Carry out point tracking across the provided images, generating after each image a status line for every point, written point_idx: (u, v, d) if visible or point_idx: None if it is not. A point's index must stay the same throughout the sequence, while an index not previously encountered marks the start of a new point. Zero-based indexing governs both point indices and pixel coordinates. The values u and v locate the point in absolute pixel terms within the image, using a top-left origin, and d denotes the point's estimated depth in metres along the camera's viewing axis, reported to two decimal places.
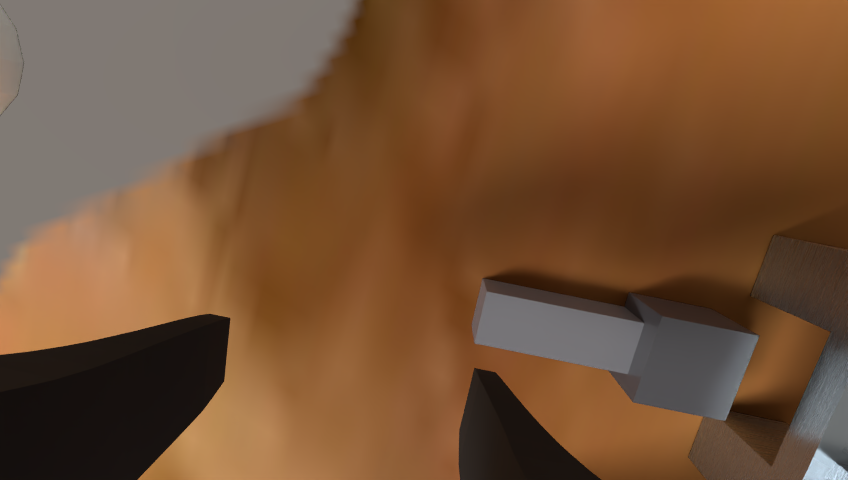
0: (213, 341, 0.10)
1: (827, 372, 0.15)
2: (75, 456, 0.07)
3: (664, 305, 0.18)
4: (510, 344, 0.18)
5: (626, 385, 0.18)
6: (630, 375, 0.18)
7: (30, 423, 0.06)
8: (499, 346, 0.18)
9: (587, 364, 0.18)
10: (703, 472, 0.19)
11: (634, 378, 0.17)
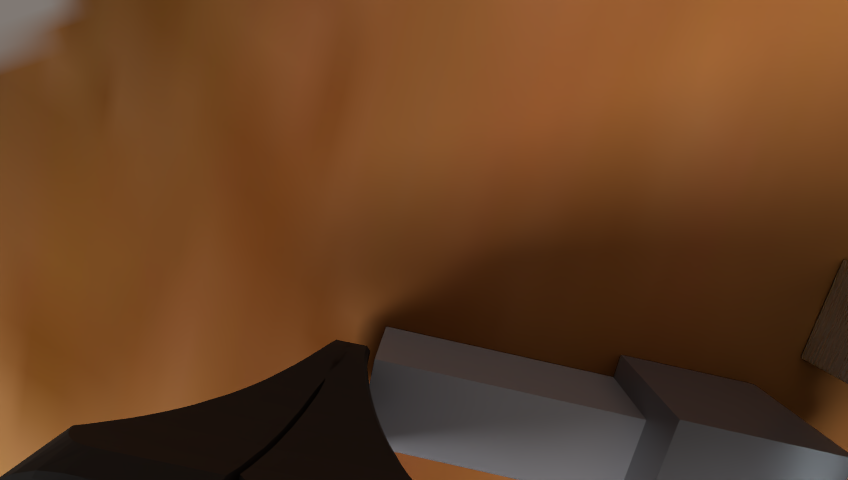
0: None
1: None
2: None
3: (680, 384, 0.11)
4: (417, 447, 0.10)
5: None
6: None
7: None
8: (398, 450, 0.10)
9: None
10: None
11: None
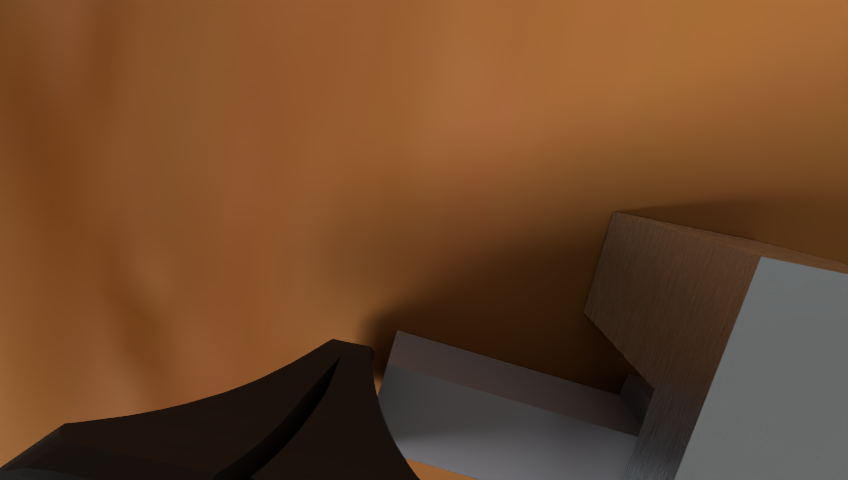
0: None
1: (643, 470, 0.07)
2: None
3: None
4: (423, 453, 0.10)
5: None
6: None
7: None
8: (404, 455, 0.10)
9: None
10: None
11: None
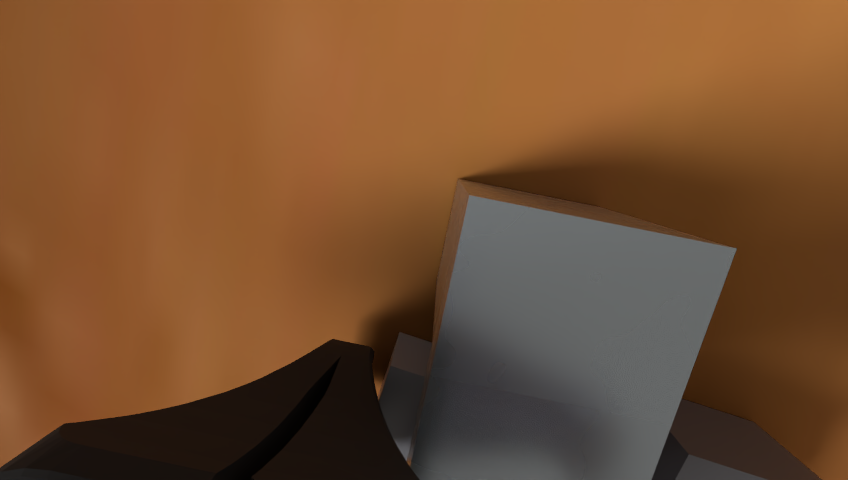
0: None
1: (416, 422, 0.07)
2: None
3: (686, 417, 0.11)
4: None
5: None
6: None
7: None
8: (404, 457, 0.10)
9: None
10: None
11: None
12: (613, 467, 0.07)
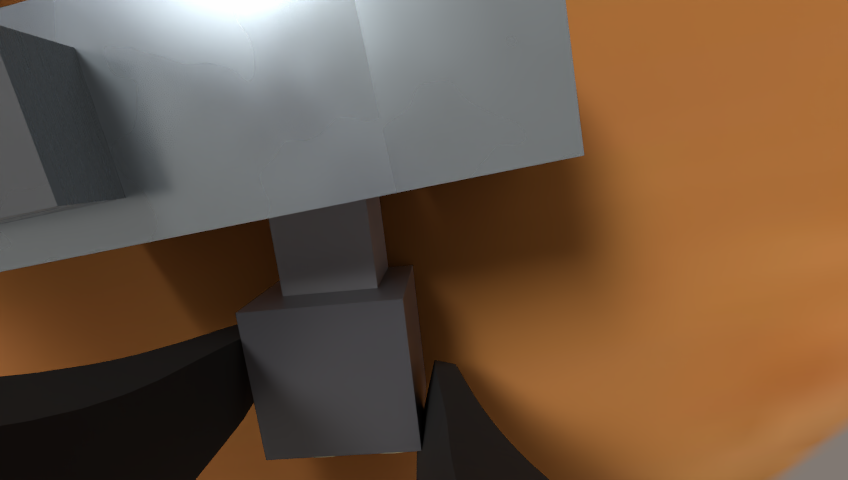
0: None
1: None
2: (138, 469, 0.07)
3: (413, 313, 0.11)
4: None
5: (263, 299, 0.10)
6: (282, 298, 0.10)
7: (103, 438, 0.06)
8: None
9: (273, 226, 0.10)
10: None
11: (279, 303, 0.10)
12: (328, 163, 0.06)
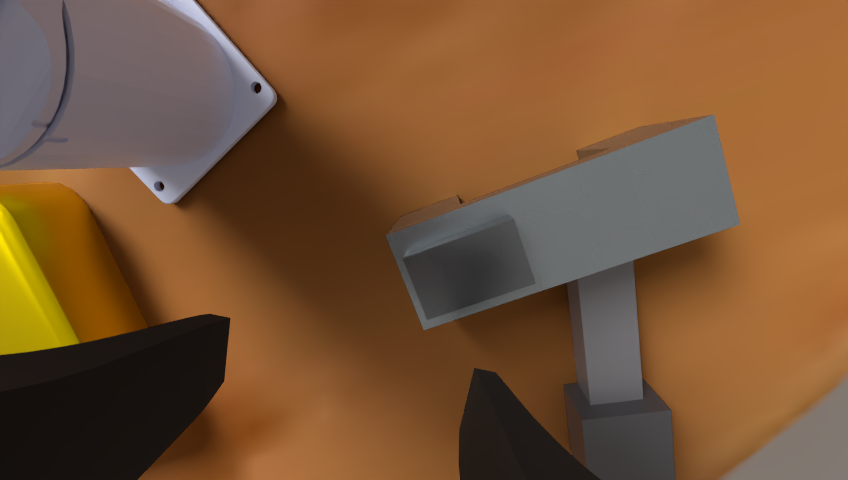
0: (212, 341, 0.10)
1: (578, 161, 0.15)
2: (75, 456, 0.07)
3: None
4: (586, 299, 0.18)
5: (582, 408, 0.19)
6: (594, 408, 0.19)
7: (30, 423, 0.06)
8: (581, 291, 0.18)
9: (588, 370, 0.19)
10: (400, 218, 0.19)
11: (597, 412, 0.19)
12: (623, 245, 0.14)
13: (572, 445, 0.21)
